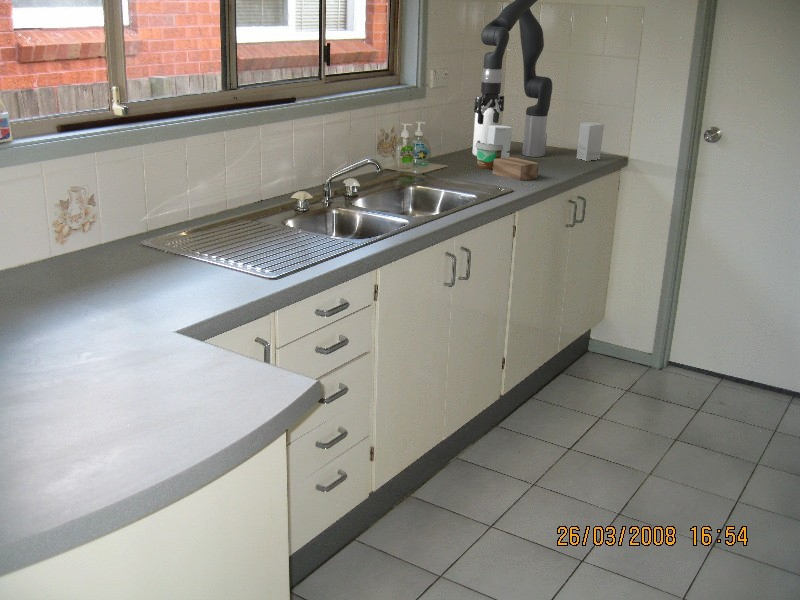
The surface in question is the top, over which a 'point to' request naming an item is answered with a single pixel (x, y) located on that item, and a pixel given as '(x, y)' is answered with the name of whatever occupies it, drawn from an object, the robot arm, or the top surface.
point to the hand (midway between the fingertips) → (487, 123)
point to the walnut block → (515, 168)
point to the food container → (487, 154)
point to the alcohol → (482, 128)
